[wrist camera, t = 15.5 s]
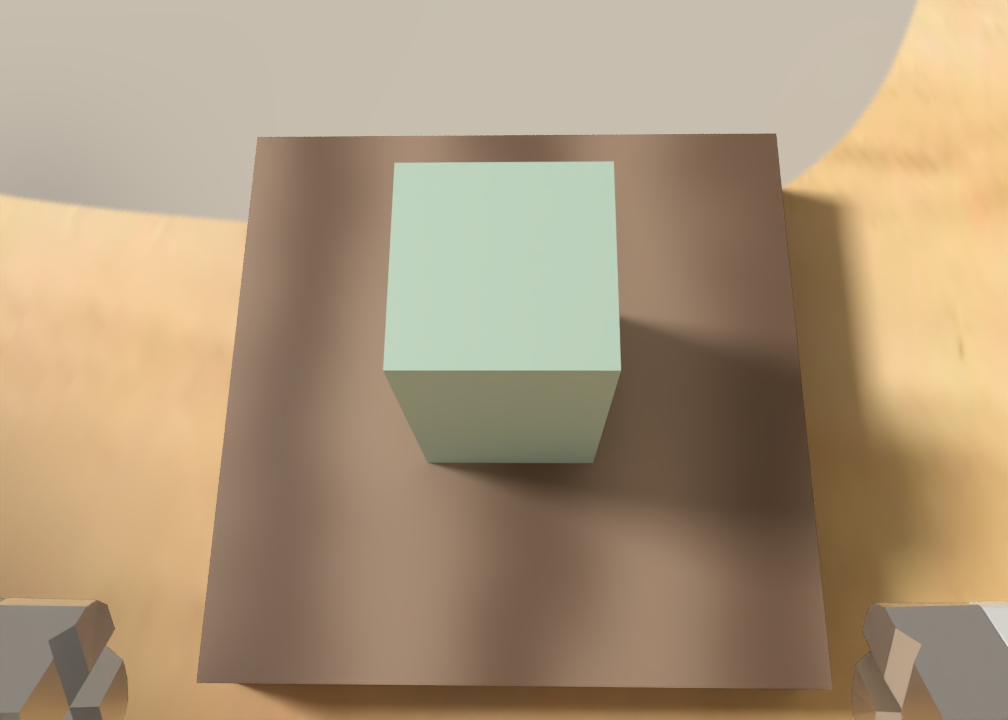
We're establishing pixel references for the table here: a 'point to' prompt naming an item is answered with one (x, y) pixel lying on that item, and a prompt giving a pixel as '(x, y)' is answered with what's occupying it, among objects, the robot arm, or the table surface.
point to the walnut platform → (519, 486)
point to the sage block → (504, 308)
